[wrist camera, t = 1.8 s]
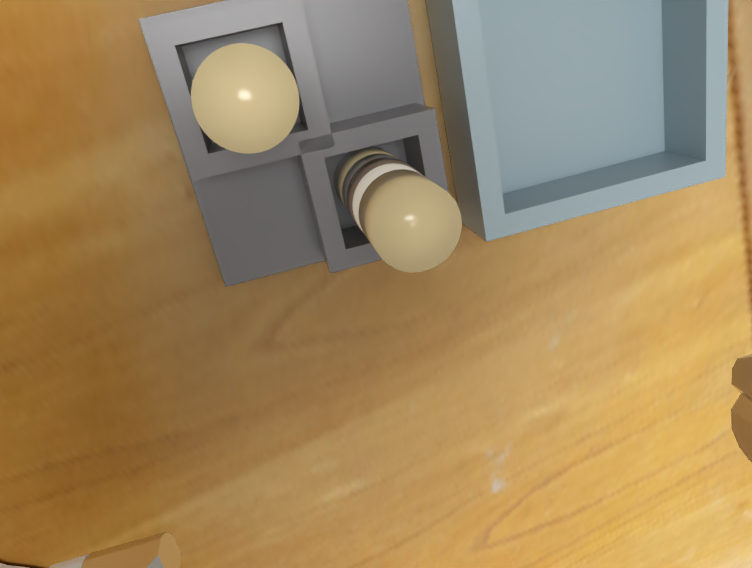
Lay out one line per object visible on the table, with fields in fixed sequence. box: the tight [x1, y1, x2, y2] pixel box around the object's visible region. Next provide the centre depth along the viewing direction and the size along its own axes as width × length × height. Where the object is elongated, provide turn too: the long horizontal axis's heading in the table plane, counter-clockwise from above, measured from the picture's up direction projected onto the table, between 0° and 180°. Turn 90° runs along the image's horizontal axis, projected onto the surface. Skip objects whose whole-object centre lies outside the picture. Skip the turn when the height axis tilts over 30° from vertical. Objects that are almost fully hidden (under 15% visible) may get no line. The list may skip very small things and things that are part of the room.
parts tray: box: [426, 0, 728, 242], centre depth 32 cm, size 14×14×4 cm
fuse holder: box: [139, 0, 449, 287], centre depth 30 cm, size 14×13×4 cm
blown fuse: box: [334, 146, 462, 273], centre depth 28 cm, size 4×4×10 cm
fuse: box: [191, 43, 299, 154], centre depth 26 cm, size 4×4×10 cm
